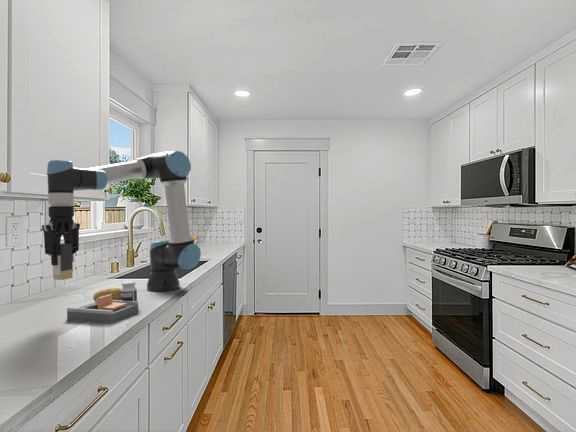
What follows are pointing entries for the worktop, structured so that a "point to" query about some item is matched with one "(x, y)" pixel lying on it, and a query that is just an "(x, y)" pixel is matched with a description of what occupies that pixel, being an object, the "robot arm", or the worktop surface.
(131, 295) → the pill bottle
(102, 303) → the shutter
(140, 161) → the robot arm
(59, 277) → the plug
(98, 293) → the potato
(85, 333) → the worktop surface
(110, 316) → the grey slab
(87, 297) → the worktop surface
